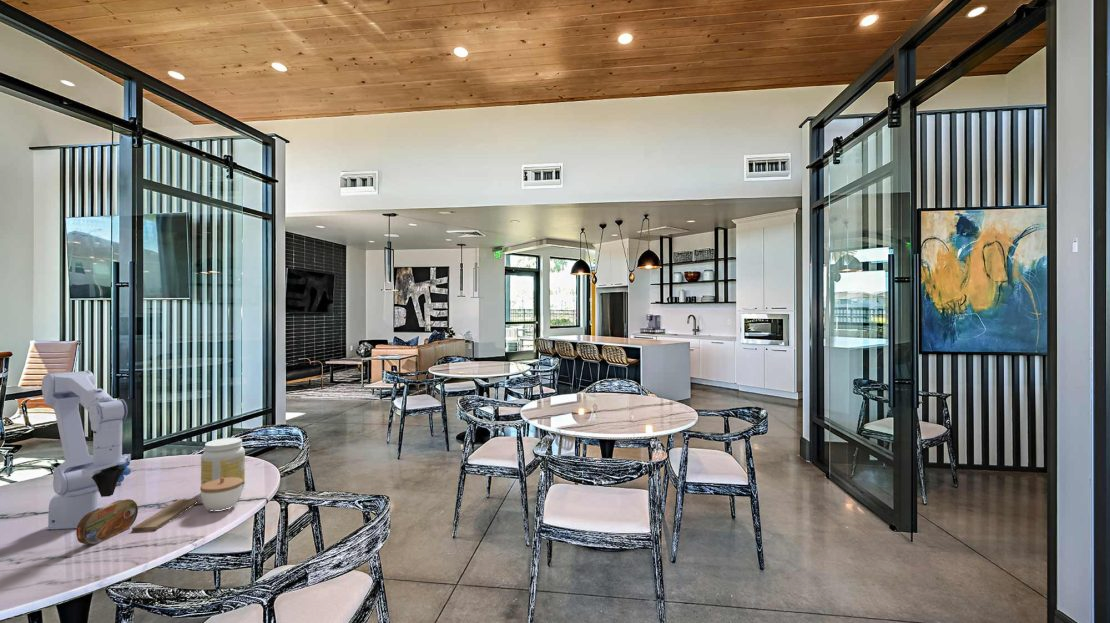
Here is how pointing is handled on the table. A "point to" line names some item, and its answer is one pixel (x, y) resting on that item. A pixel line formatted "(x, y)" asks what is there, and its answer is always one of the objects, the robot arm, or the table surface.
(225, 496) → the lidded jar
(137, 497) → the table surface
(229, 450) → the supplement tub
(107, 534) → the tin
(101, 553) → the table surface
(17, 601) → the table surface
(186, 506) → the walnut board
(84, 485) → the robot arm
